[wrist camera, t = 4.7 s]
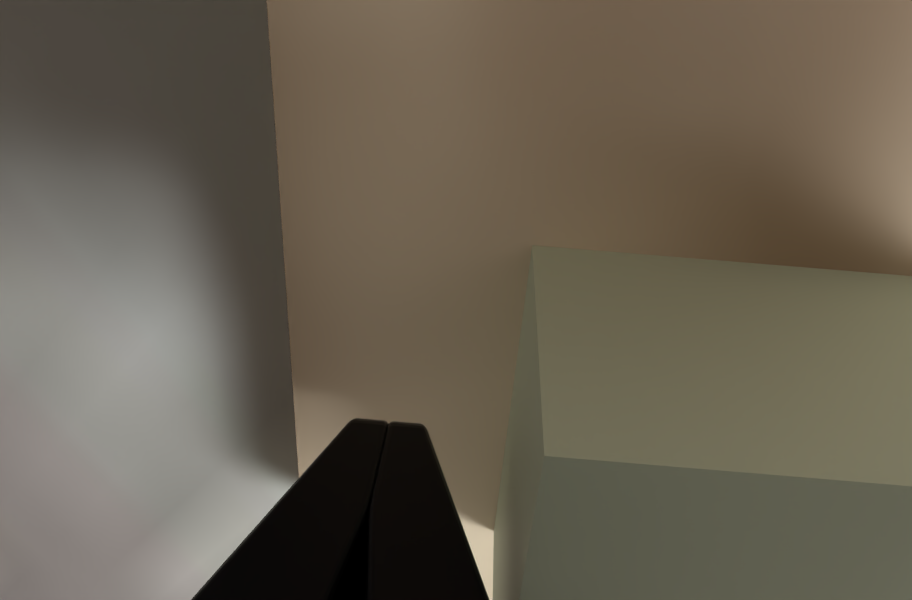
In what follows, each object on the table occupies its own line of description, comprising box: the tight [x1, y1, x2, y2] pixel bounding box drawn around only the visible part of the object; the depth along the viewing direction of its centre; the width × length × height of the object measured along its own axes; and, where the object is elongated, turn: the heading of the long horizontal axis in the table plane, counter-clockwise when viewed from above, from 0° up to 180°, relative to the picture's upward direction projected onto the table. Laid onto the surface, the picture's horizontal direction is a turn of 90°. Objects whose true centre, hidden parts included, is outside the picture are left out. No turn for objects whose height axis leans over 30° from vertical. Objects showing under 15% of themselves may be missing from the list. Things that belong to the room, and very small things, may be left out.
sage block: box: [493, 245, 912, 600], centre depth 8 cm, size 4×4×3 cm
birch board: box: [267, 0, 912, 600], centre depth 8 cm, size 10×19×3 cm, turn 176°
